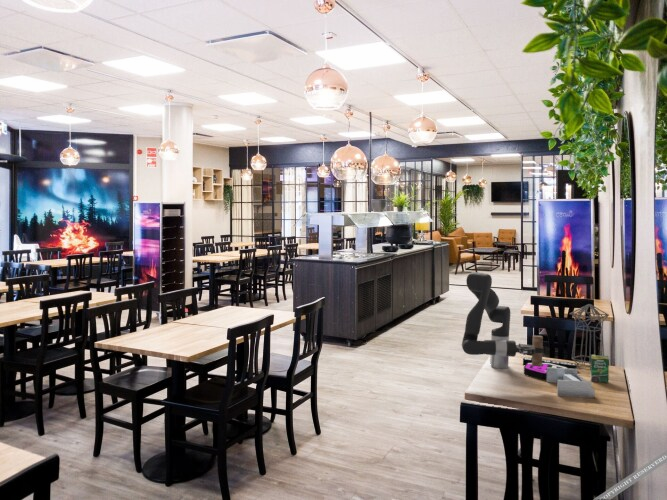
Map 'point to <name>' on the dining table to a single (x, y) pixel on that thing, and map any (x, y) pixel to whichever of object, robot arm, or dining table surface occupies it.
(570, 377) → the offcut stack
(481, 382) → the dining table surface
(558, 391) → the rack
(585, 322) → the geometric lantern
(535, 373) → the sign
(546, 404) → the dining table surface
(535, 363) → the walnut board
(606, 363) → the coffee box
